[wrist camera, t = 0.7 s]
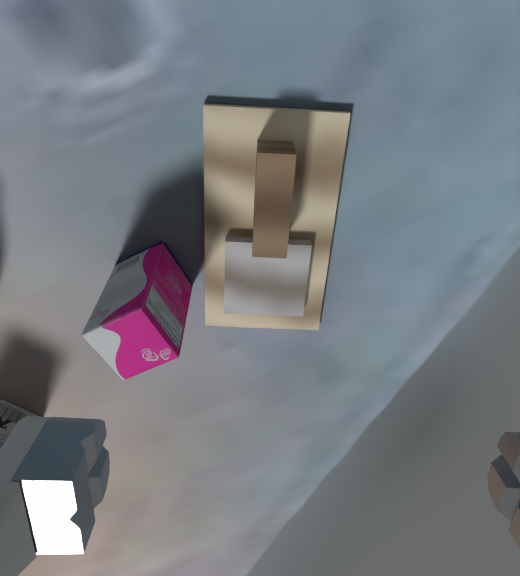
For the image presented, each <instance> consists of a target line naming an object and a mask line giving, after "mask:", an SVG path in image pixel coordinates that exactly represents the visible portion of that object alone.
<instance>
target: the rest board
mask: <svg viewBox="0 0 520 576" xmlns="http://www.w3.org/2000/svg"><path fill="white" fill-rule="evenodd" d="M350 114H351V113H350V112H349V111H332V110H314V109H296V108H278V107H260V106H242V105H224V104H206V103H204V105H203V134H204V235H205V326H228V327H253V328H279V329H305V330H318V329H319V323H320V316H321V309H322V302H323V296H324V289H325V282H326V275H327V269H328V262H329V255H330V249H331V242H332V235H333V228H334V222H335V215H336V208H337V202H338V195H339V188H340V181H341V175H342V168H343V161H344V154H345V148H346V141H347V134H348V128H349V121H350ZM257 140H273V141H292V142H293V144H294V147H295V151H296V165H295V176H294V186H293V197H292V207H291V218H290V229H289V239H303V240H311V244H312V249H311V257H310V265H309V273H308V281H307V289H306V297H305V305H304V313H303V317H302V316H277V315H252V314H227V313H224V282H225V239H226V236H237V237H253V216H254V196H255V176H256V156H257Z"/></svg>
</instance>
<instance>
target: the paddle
mask: <svg viewBox="0 0 520 576" xmlns="http://www.w3.org/2000/svg"><path fill="white" fill-rule="evenodd" d="M295 165H296V151H295V147H294V144H293V142H292V141H273V140H257V156H256V176H255V196H254V216H253V237H237V236H226V239H225V282H224V313H227V314H252V315H277V316H302V317H303V313H304V305H305V297H306V289H307V281H308V273H309V265H310V257H311V249H312V244H311V240H303V239H289V229H290V218H291V207H292V197H293V186H294V176H295Z"/></svg>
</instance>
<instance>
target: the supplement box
mask: <svg viewBox="0 0 520 576" xmlns="http://www.w3.org/2000/svg"><path fill="white" fill-rule="evenodd" d="M192 286H193V285H192V283H191V281H190V280H189V278H188V277H187V275H186V274H185V272H184V271H183V269H182V268H181V266H180V265H179V263H178V262H177V260H176V259H175V257H174V256H173V254H172V253H171V252H170V250H169V249H168V247H167V246H166V244H165V243H164V241H162V242H159V243H157V244H155V245H153V246H151V247H149V248H146V249H144V250H142V251H140V252H138V253H136V254H134V255H132V256H130V257H128V258H126V259H124V260H122V261H120V262H118V263H116V264H115V267H114V269H113V271H112V273H111V275H110V277H109V279H108V281H107V284H106V286H105V288H104V290H103V292H102V294H101V296H100V298H99V300H98V302H97V304H96V306H95V308H94V310H93V312H92V315H91V317H90V319H89V321H88V323H87V325H86V327H85V329H84V331H83V333H82V336H83V337H84V338H85V339H86V340H87V341H88V343H89V344H90V345H91V346H92V347H93V348H94V349H95V350H96V351H97V352H98V353H99V354H100V355H101V356H102V357H103V359H104V360H105V361H106V362H107V363H108V364H109V365H110V366H111V368H112V369H113V370H114V371H115V372H116V373H117V374H118V375H119V377H120V378H121V379H122V380H125V379H127V378H130V377H132V376H135V375H137V374H139V373H142V372H144V371H147V370H149V369H151V368H154V367H156V366H159V365H161V364H163V363H166V362H168V361H171V360H173V359H175V358H178V357H179V354H180V349H181V344H182V339H183V333H184V328H185V322H186V317H187V312H188V307H189V301H190V296H191V291H192Z"/></svg>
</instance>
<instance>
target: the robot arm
mask: <svg viewBox="0 0 520 576" xmlns="http://www.w3.org/2000/svg"><path fill="white" fill-rule="evenodd" d="M106 435H107V434H106V427H105V422H104V421H103V420H101V419H83V418H64V417H36V416H26V417H24V418H23V419H21V420H20V421H19V422H18V424H17V425H16V427H15V428H14V430H13V431H12V433H11V434H10V436H9V437H8V439H7V440H6V442H5V443H4V445H3V446H2V448H1V449H0V576H18V575H19V574H20V573H21V572H22V571H23V570H24V569H25V568H26V567H27V566H28V565H29V564H30V563H31V562H32V561H33V560H34V559H35V558H36V554H84V552H85V549H86V546H87V543H88V540H89V537H90V535H91V532H92V529H93V526H94V523H95V516H94V508H95V507H96V506H97V505H98V504H99V503H101V502H102V500H103V497H104V494H105V491H106V488H107V482H108V477H109V464H110V461H109V452H108V451H107V450H106V449H105V448H104V447H103V443H104V441H105V438H106ZM497 447H498V449H499V451H500V453H501V455H500V456H499V457H497V458H496V459H495V460H494V461H492V462H491V465H490V468H489V471H488V475H487V476H488V489H489V493H490V496H491V499H492V501H493V503H494V505H495V506H496V508H497V510H498V511H499V512H500V513H502V514H503V515H504V516H506V517H507V518H508V519H510V520H511V522H510V527H509V532H510V533H511V535H512V537H513V539H514V540H515V542H516V544H517V546H518V548H519V549H520V432H505V433H504V434H503V435H502V436H501V437H500V440H499V442H498V445H497Z"/></svg>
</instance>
